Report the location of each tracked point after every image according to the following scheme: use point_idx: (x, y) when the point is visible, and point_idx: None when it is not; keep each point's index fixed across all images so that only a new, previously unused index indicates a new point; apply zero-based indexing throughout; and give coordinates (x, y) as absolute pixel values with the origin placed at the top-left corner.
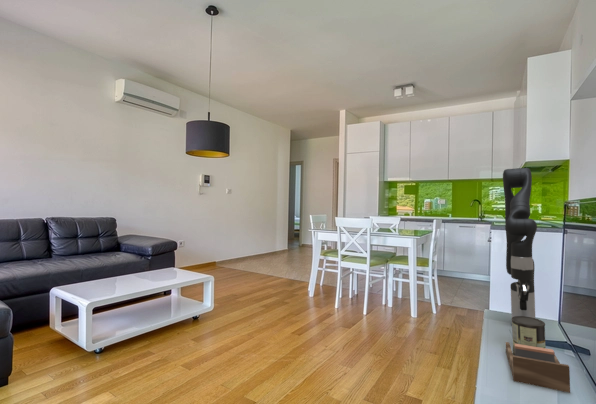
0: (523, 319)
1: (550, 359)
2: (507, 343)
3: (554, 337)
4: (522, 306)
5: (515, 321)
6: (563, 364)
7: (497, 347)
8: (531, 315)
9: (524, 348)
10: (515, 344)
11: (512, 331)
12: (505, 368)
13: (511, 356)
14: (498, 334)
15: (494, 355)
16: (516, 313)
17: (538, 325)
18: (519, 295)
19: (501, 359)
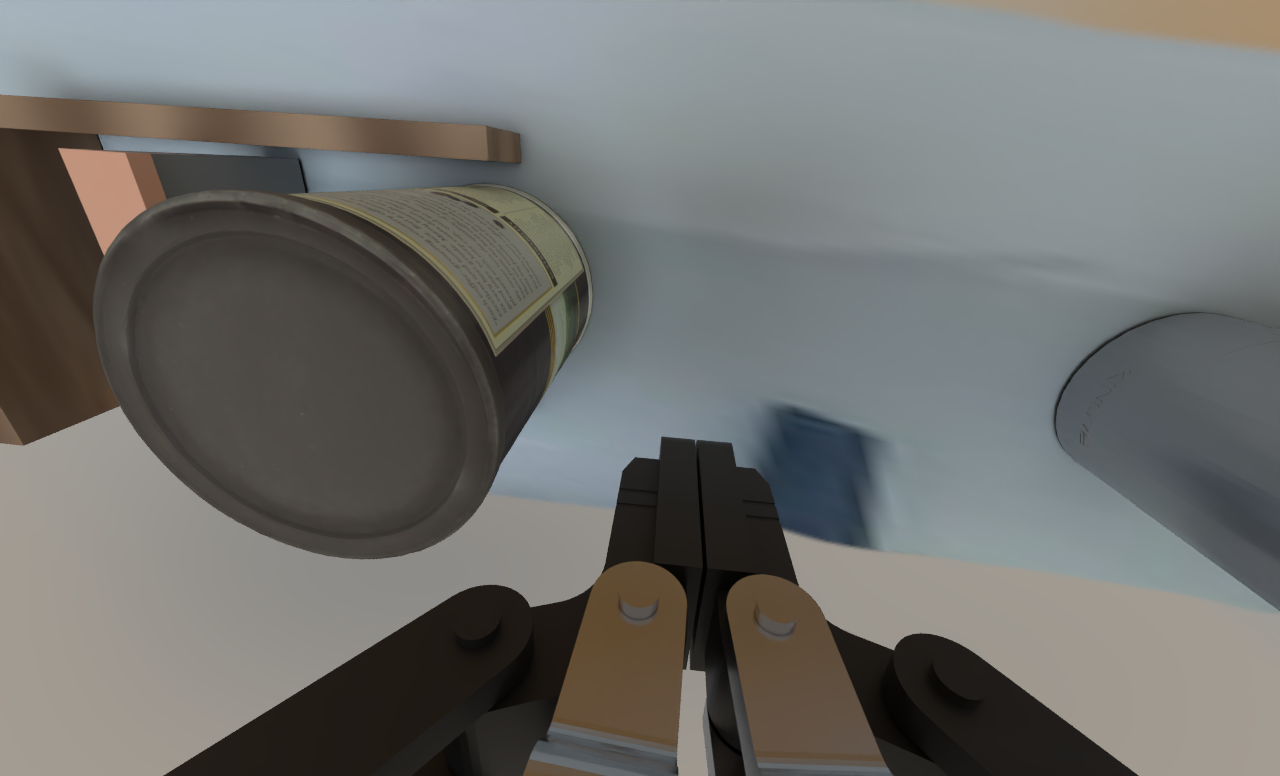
0: (342, 369)
1: None
2: (451, 138)
3: (928, 527)
4: (620, 502)
5: (126, 227)
6: (3, 422)
7: (590, 72)
8: (1179, 523)
9: (101, 231)
10: (106, 160)
11: (376, 191)
12: (212, 77)
13: (171, 120)
14: (932, 135)
15: (399, 16)
16: (1276, 401)
17: (185, 476)
18: (634, 728)
19: (353, 70)
